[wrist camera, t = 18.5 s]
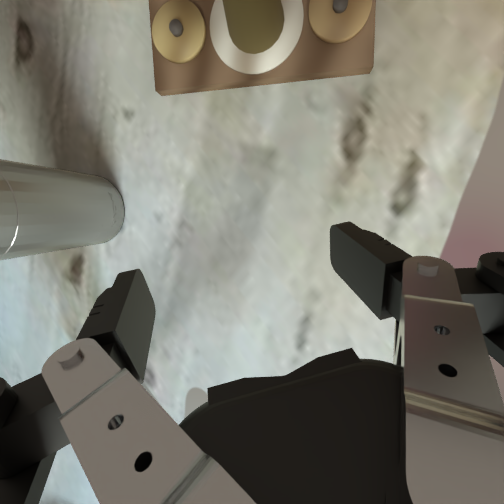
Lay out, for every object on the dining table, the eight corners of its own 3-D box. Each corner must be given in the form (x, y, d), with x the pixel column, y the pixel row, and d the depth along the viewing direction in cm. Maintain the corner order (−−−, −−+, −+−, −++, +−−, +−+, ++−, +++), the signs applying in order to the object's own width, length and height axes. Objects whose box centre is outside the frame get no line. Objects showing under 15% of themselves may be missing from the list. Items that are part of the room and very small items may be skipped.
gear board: (161, 95, 33) (149, 85, 30) (154, -6, 32) (140, -27, 29) (369, 73, 29) (377, 59, 26) (373, -45, 28) (382, -74, 25)
